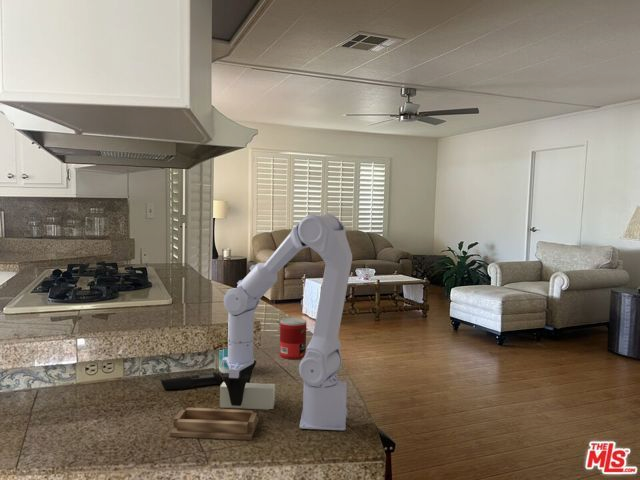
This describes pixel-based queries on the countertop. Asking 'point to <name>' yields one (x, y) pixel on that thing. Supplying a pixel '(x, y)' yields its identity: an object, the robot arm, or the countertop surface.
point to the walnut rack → (215, 423)
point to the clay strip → (251, 396)
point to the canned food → (292, 338)
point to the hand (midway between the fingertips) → (239, 398)
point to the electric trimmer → (192, 381)
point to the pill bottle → (223, 366)
